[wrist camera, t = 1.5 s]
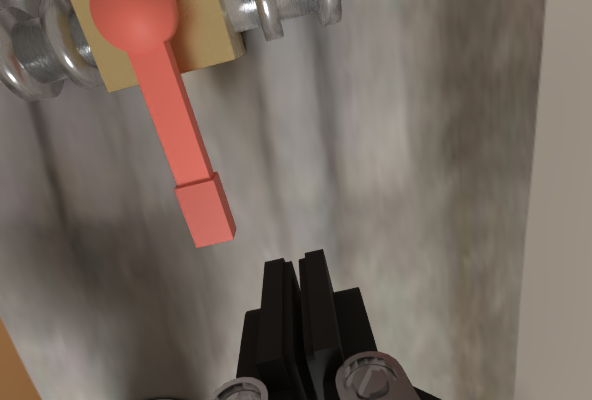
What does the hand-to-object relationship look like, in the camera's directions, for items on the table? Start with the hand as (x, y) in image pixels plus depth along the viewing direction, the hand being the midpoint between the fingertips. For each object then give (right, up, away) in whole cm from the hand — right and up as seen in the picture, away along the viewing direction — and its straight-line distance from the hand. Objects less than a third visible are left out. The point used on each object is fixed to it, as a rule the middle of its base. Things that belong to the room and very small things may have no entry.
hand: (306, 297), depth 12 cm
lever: (-7, +8, +12) cm, 16 cm away
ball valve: (-9, +16, +18) cm, 26 cm away
